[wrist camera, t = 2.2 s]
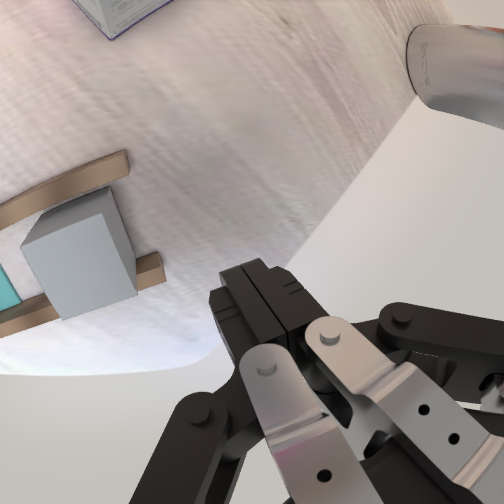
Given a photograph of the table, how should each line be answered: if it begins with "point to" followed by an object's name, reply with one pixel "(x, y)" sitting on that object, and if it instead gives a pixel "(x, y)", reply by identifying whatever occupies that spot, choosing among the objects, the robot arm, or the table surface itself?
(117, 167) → the wooden u-shaped frame
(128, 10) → the supplement box
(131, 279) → the block
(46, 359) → the table surface
